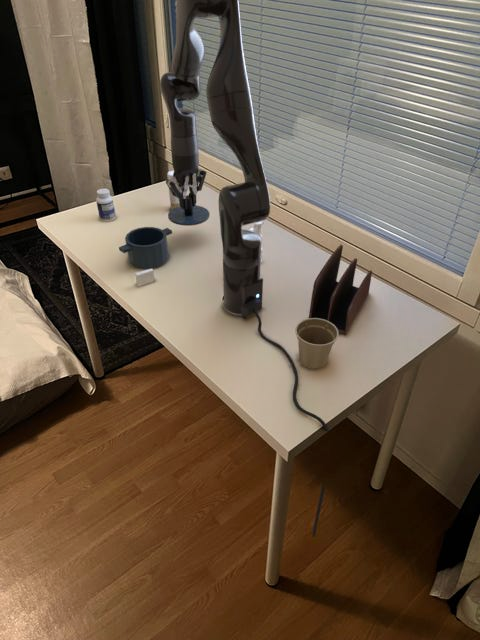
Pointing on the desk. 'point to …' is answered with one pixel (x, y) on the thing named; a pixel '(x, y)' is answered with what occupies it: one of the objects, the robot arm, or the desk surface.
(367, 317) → the desk surface
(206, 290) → the desk surface
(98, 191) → the pill bottle
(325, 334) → the flower pot
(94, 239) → the desk surface
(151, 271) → the eraser
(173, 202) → the sprinkles bottle
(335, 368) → the desk surface
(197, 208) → the lid
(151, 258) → the pot
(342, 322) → the letter holder
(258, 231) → the koala figurine
